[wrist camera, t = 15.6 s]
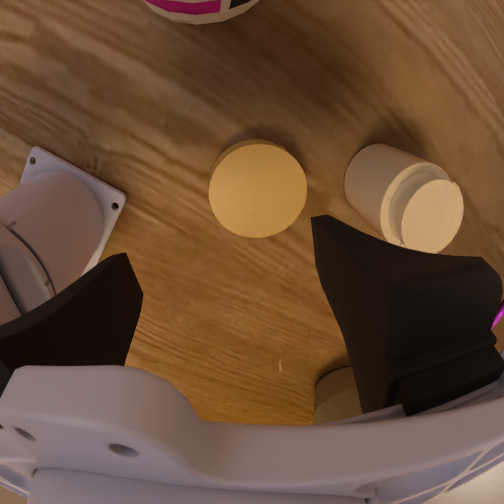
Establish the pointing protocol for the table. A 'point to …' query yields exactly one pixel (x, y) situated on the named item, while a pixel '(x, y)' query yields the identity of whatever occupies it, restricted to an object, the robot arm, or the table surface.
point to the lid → (256, 188)
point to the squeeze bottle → (336, 397)
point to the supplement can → (199, 9)
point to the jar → (404, 198)
